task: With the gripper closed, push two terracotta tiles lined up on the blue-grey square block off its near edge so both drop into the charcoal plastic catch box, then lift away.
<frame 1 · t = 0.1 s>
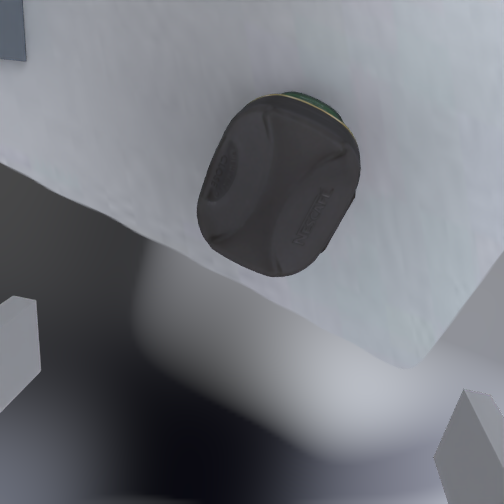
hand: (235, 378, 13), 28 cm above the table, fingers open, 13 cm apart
coffee jar: (291, 149, 37), on the table
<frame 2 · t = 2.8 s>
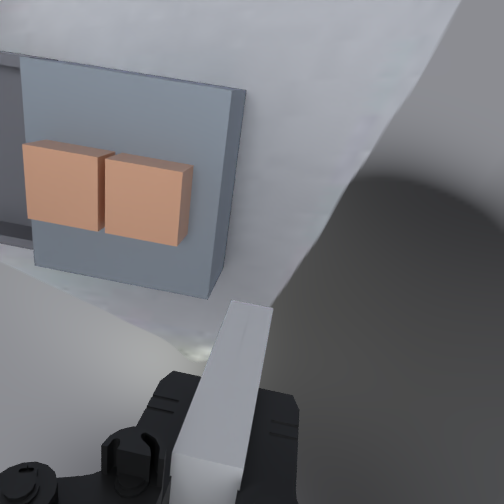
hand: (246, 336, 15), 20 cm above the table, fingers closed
blue-grey square block: (152, 172, 34), on the table
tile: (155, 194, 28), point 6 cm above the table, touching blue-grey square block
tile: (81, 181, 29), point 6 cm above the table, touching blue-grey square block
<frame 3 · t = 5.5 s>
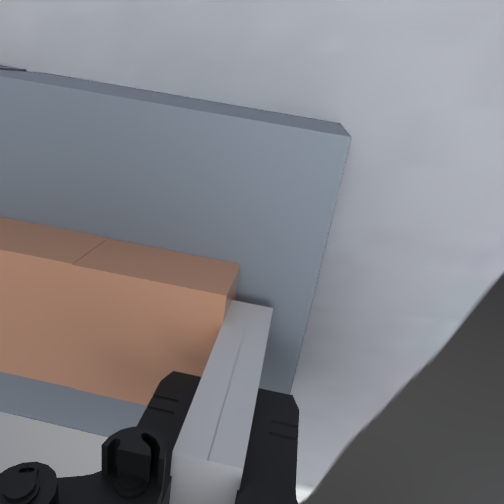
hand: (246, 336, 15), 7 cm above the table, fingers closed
blue-grey square block: (175, 247, 22), on the table
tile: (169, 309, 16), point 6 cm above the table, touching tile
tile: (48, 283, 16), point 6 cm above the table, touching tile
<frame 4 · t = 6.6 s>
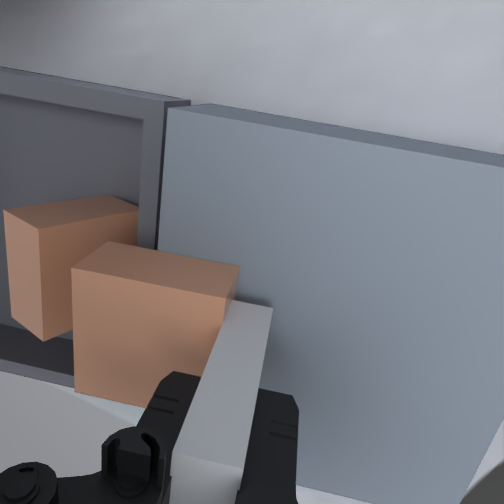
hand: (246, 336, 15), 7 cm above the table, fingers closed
catch box: (69, 227, 22), on the table
blue-grey square block: (326, 279, 21), on the table
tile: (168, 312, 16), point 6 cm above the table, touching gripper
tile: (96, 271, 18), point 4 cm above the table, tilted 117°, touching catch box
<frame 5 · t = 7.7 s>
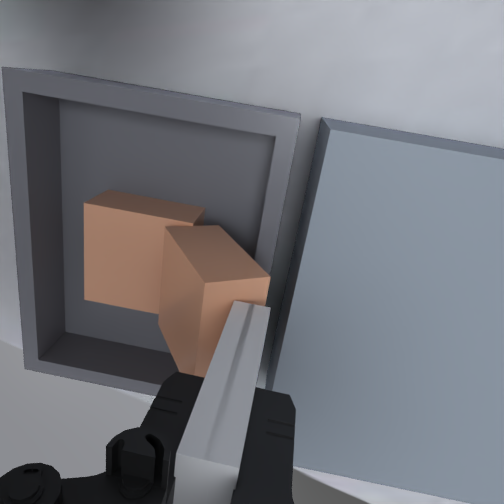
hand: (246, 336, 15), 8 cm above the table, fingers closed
catch box: (163, 239, 22), on the table
blue-grey square block: (421, 288, 21), on the table
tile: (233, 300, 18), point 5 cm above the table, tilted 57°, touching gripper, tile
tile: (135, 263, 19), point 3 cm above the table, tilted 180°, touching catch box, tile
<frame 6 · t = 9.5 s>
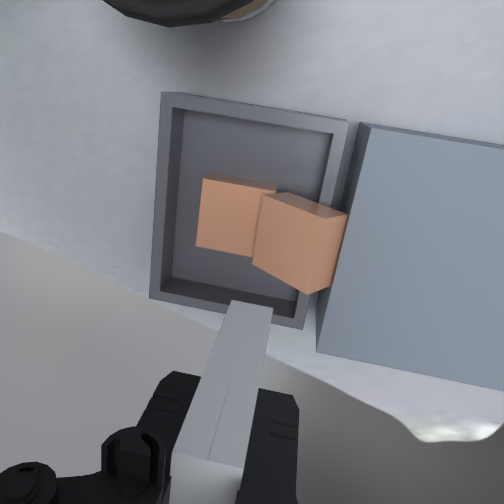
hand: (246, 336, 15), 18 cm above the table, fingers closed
catch box: (245, 207, 31), on the table
blue-grey square block: (429, 241, 30), on the table
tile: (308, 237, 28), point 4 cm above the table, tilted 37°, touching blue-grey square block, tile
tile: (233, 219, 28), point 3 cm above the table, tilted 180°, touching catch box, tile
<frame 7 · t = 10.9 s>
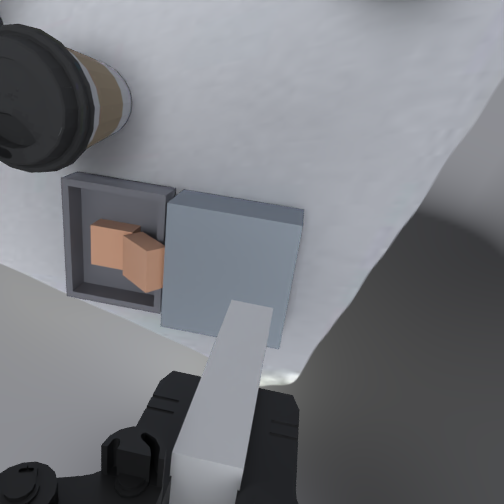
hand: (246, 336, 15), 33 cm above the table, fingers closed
coffee cup: (102, 99, 45), on the table
catch box: (125, 239, 50), on the table
blue-grey square block: (235, 258, 49), on the table
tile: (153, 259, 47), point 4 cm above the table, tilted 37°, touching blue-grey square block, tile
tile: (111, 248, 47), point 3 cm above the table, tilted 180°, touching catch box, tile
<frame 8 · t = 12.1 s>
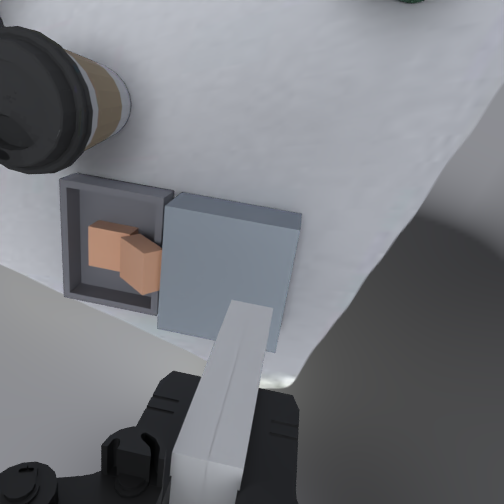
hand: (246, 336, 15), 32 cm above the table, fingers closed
coffee cup: (101, 101, 45), on the table
catch box: (123, 240, 50), on the table
blue-grey square block: (233, 261, 49), on the table
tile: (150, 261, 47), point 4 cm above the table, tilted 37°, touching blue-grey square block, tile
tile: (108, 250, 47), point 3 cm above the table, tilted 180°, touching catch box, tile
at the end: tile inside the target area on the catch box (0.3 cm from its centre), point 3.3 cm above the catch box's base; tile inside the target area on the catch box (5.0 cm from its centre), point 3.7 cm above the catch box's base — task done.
